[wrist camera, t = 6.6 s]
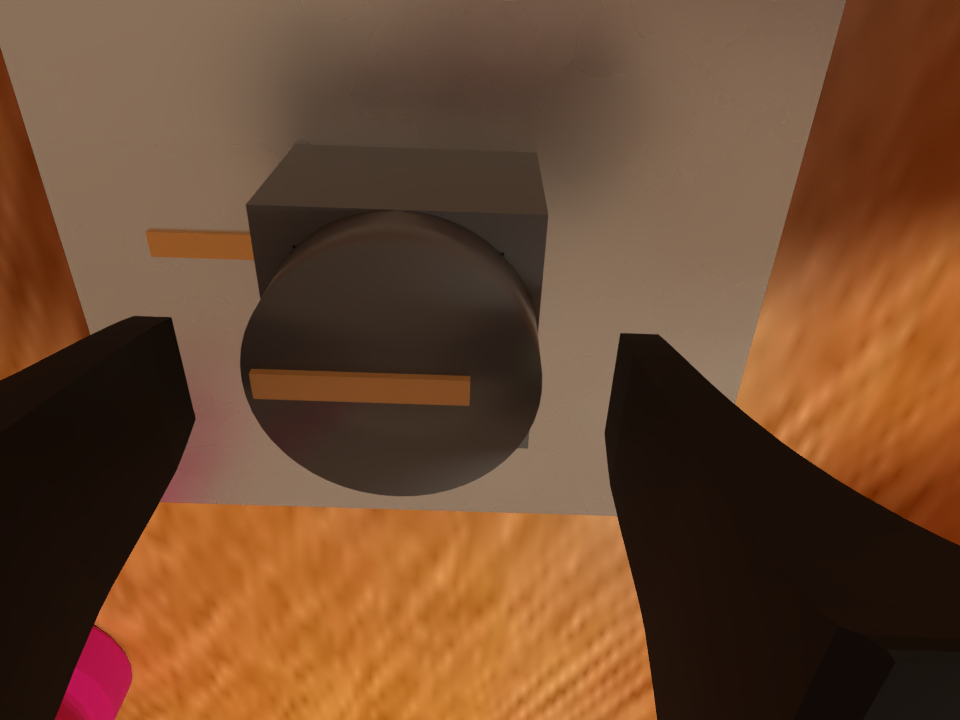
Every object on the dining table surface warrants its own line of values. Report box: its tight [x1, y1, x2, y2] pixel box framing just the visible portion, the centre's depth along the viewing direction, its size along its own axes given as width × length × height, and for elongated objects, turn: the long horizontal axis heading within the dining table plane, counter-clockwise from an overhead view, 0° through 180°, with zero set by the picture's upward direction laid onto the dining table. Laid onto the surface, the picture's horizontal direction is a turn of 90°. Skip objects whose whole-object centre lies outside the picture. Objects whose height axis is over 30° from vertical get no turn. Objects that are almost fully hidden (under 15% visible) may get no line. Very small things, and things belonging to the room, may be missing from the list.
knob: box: [240, 144, 548, 496], centre depth 14 cm, size 5×5×5 cm
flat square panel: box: [0, 0, 846, 516], centre depth 15 cm, size 16×16×4 cm
